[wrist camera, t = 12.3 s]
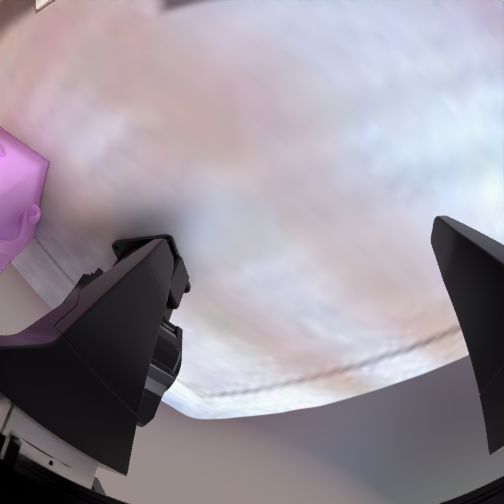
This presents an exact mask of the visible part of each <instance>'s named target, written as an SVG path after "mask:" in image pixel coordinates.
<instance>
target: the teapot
mask: <svg viewBox="0 0 504 504" xmlns="http://www.w3.org/2000/svg"><path fill="white" fill-rule="evenodd" d="M48 165H49V161H48V160H47V159H45V158H44V157H42V156H41V155H39V154H38V153H37V152H35V151H34V150H32V149H31V148H29V147H28V146H27V145H25V144H24V143H22V142H21V141H20V140H18V139H17V138H15V137H14V136H12V135H11V134H10V133H8V132H7V131H6V130H4V129H3V128H1V127H0V273H1V272H2V271H3V270H4V269H5V267H6V266H7V265H8V264H9V263H10V262H11V261H12V260H13V259H14V257H15V256H16V255H17V254H18V253H19V252H20V251H21V250H22V249H23V248H24V247H25V246H26V245H27V244H28V243H29V242H30V240H31V239H32V238H33V237H34V236H35V231H36V224H37V222H38V221H39V219H40V217H41V211H40V208H39V206H40V201H41V196H42V191H43V187H44V182H45V178H46V173H47V169H48Z"/></svg>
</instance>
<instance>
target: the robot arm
mask: <svg viewBox="0 0 504 504" xmlns="http://www.w3.org/2000/svg"><path fill="white" fill-rule="evenodd" d="M166 240H169V241H170V242H167V241H166ZM116 245H117V246H118V247H117V246H116ZM431 245H432V248H433V251H434V254H435V256H436V260H437V263H438V266H439V269H440V272H441V275H442V278H443V281H444V284H445V286H446V289H447V291H448V294H449V296H450V299H451V302H452V304H453V307H454V310H455V312H456V315H457V318H458V321H459V324H460V327H461V329H462V332H463V336H464V339H465V342H466V345H467V348H468V352H469V355H470V358H471V362H472V366H473V370H474V373H475V377H476V381H477V386H478V390H479V393H480V400H481V404H482V410H483V415H484V421H485V427H486V433H487V441H488V449H489V453H490V455H492V454H494V453H496V452H498V451H500V450H502V449H504V245H503V244H501V243H499V242H497V241H496V240H494V239H492V238H490V237H488V236H486V235H484V234H482V233H480V232H479V231H477V230H475V229H473V228H471V227H469V226H467V225H465V224H463V223H461V222H459V221H457V220H454V219H452V218H450V217H448V216H437V217H435V219H434V223H433V229H432V234H431ZM112 248H113V250H114V252H115V255H116V257H117V261H116V262H115V264H114V265H113V267H112V268H111V269H109V270H108V271H107V272H105V273H103V271H102V270H101V269H100V268H98V269H97V270H96V272H95V273H94V274H93V273H91V274H90V275H88V274H83V276H82V277H81V278H80V280H79V281H78V283H77V284H76V286H75V287H74V288H73V290H72V291H71V292H70V294H69V295H68V296H67V298H66V299H65V300H64V302H63V303H62V304H61V305H59V306H58V307H56V308H55V309H54V310H52V311H51V312H49V313H48V314H46V315H45V316H43V317H42V318H41V319H39V320H38V321H36V322H35V323H34V324H32V325H30V326H29V327H28V328H26V329H25V330H23V331H21V332H19V333H17V334H14V335H8V336H2V335H1V336H0V504H129V503H126V502H123V501H121V500H117V499H115V498H112V497H109V496H107V495H106V494H105V492H104V490H103V488H102V486H101V484H100V482H99V480H98V478H96V477H95V474H96V470H97V468H98V467H100V468H103V469H106V470H109V471H112V472H115V473H118V474H121V475H125V476H126V475H127V473H128V467H129V461H130V456H131V451H132V445H133V440H134V435H135V430H136V425H138V426H140V427H143V426H145V425H146V424H147V423H149V422H150V421H151V420H152V419H153V418H154V416H155V413H156V411H157V408H158V405H159V403H160V401H161V398H162V396H163V394H164V392H165V391H167V390H168V389H169V388H170V386H171V385H172V384H173V382H174V381H175V379H176V377H177V375H178V373H179V370H180V367H181V361H182V331H183V330H182V329H181V328H180V327H178V326H175V325H173V324H172V323H170V322H169V320H170V317H171V314H172V311H173V309H177V308H178V307H179V304H180V301H181V299H182V296H183V293H188V292H189V291H190V288H191V286H190V283H189V281H188V279H189V276H188V274H187V271H186V268H185V265H184V262H183V260H182V257H181V256H180V255H179V253H178V250H177V247H176V245H175V242H174V239H173V237H172V236H170V235H160V236H151V237H143V238H135V239H126V240H118V241H115V242H114V243H113V244H112ZM185 287H186V288H185ZM438 504H504V476H502V477H500V478H498V479H496V480H494V481H492V482H490V483H488V484H486V485H484V486H481V487H479V488H477V489H475V490H472V491H470V492H468V493H465V494H463V495H460V496H458V497H455V498H452V499H450V500H447V501H444V502H441V503H438Z"/></svg>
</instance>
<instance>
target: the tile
mask: <svg viewBox="0 0 504 504" xmlns="http://www.w3.org/2000/svg"><path fill="white" fill-rule="evenodd" d="M51 1H53V0H36V9H41V8H43V7H44V6H46V5H47V4H48V3H50V2H51Z"/></svg>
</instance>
